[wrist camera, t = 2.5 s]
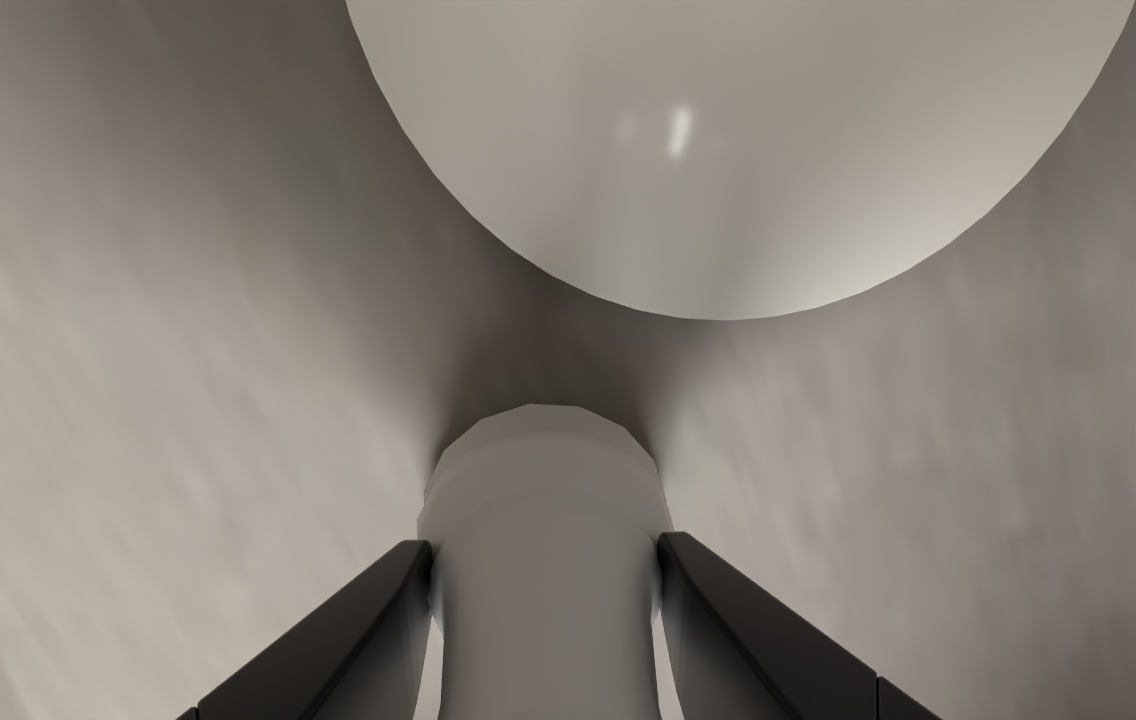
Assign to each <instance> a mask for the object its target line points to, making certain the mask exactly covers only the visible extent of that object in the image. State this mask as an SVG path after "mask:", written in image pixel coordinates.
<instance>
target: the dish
mask: <svg viewBox="0 0 1136 720" xmlns="http://www.w3.org/2000/svg"><path fill="white" fill-rule="evenodd" d="M1134 3H1135V0H346V4H347V7H348V11H349V15H350V18H351V21H352V23H353V26H354V28H355V31H356V33H357V36H358V38H359V41H360V43H361V46H362V48H363V51H364V53H365V56H366V58H367V61H368V63H369V65H370V68H371V70H372V73H373V75H374V78H375V80H376V81H377V83H378V85H379V87H380V89H381V91H382V92H383V94H384V96H385V98H386V100H387V102H388V103H389V105H390V107H391V109H392V111H393V113H394V114H395V116H396V118H397V120H398V122H399V124H400V125H401V127H402V129H403V131H404V132H405V133H406V135H407V136H408V138H409V139H410V140H411V142H412V143H413V145H414V146H415V148H416V149H417V150H418V152H419V153H420V155H421V156H422V157H423V159H424V160H425V162H426V163H427V165H428V166H429V167H430V169H431V170H432V172H433V173H434V174H435V176H436V177H437V178H438V179H439V180H440V181H441V182H442V183H443V185H444V186H445V187H446V188H447V189H448V190H449V191H450V192H451V193H452V194H453V196H454V197H455V198H456V199H457V200H458V201H459V202H460V203H461V204H462V205H463V207H464V208H465V209H466V210H467V211H468V212H469V213H470V214H471V215H472V216H473V217H474V218H475V219H476V220H478V221H479V222H480V223H481V224H482V225H483V226H485V227H486V228H487V229H488V230H489V231H490V232H492V233H493V234H494V235H495V236H496V237H497V238H499V239H500V240H501V241H502V242H503V243H504V244H506V245H507V246H508V247H509V248H510V249H512V250H513V251H515V252H516V253H518V254H519V255H521V256H523V257H524V258H526V259H527V260H529V261H530V262H532V263H533V264H535V265H536V266H538V267H539V268H541V269H542V270H544V271H545V272H547V273H548V274H550V275H552V276H554V277H556V278H558V279H560V280H562V281H564V282H566V283H568V284H570V285H572V286H574V287H577V288H579V289H581V290H583V291H585V292H587V293H589V294H591V295H593V296H596V297H599V298H602V299H605V300H608V301H611V302H614V303H617V304H620V305H623V306H627V307H630V308H633V309H636V310H640V311H645V312H651V313H656V314H661V315H667V316H672V317H678V318H686V319H705V320H725V321H728V320H741V319H754V318H766V317H775V316H780V315H784V314H789V313H794V312H799V311H803V310H808V309H813V308H818V307H820V306H823V305H826V304H829V303H832V302H835V301H838V300H841V299H844V298H847V297H850V296H853V295H856V294H858V293H861V292H863V291H866V290H868V289H870V288H872V287H874V286H876V285H878V284H880V283H882V282H884V281H886V280H888V279H891V278H893V277H895V276H897V275H899V274H901V273H903V272H905V271H907V270H908V269H910V268H911V267H913V266H915V265H916V264H918V263H919V262H921V261H923V260H924V259H926V258H927V257H929V256H930V255H932V254H934V253H935V252H937V251H938V250H940V249H942V248H943V247H945V246H946V245H948V244H949V243H950V242H952V241H953V240H954V239H955V238H957V237H958V236H959V235H960V234H962V233H963V232H964V231H965V230H967V229H968V228H969V227H970V226H972V225H973V224H974V223H975V222H977V221H978V220H979V219H980V218H982V217H983V216H984V215H985V214H987V213H988V212H989V211H990V210H991V209H992V208H993V207H994V206H995V205H996V204H997V203H998V202H999V201H1000V200H1001V199H1002V198H1003V197H1004V196H1005V195H1006V194H1007V193H1008V192H1009V191H1010V190H1011V189H1012V188H1013V187H1014V186H1015V185H1016V184H1017V183H1018V182H1019V181H1020V180H1021V179H1022V178H1023V177H1024V176H1025V175H1026V174H1027V173H1028V172H1029V171H1030V169H1031V168H1032V167H1033V166H1034V165H1035V163H1036V162H1037V161H1038V160H1039V159H1040V157H1041V156H1042V155H1043V154H1044V153H1045V151H1046V150H1047V149H1048V148H1049V147H1050V145H1051V144H1052V143H1053V142H1054V140H1055V139H1056V138H1057V137H1058V136H1059V134H1060V133H1061V132H1062V131H1063V129H1064V128H1065V126H1066V125H1067V123H1068V122H1069V120H1070V119H1071V117H1072V116H1073V114H1074V113H1075V111H1076V110H1077V108H1078V107H1079V105H1080V104H1081V102H1082V101H1083V99H1084V98H1085V96H1086V95H1087V93H1088V92H1089V90H1090V89H1091V87H1092V86H1093V84H1094V83H1095V81H1096V79H1097V77H1098V75H1099V74H1100V72H1101V70H1102V68H1103V66H1104V64H1105V62H1106V61H1107V59H1108V57H1109V55H1110V53H1111V51H1112V49H1113V48H1114V46H1115V44H1116V42H1117V40H1118V38H1119V36H1120V35H1121V33H1122V31H1123V29H1124V26H1125V24H1126V22H1127V19H1128V17H1129V14H1130V12H1131V10H1132V7H1133V5H1134Z"/></svg>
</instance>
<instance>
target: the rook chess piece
mask: <svg viewBox="0 0 1136 720" xmlns="http://www.w3.org/2000/svg"><path fill="white" fill-rule="evenodd" d="M662 532H674V527H673V523H672V520H671V517H670V513H669V510H668V507H667V504H666V498H665V495H664V491H663V488H662V485H661V482H660V478H659V475H658V472H657V468H656V465H655V462H654V460H653V459H652V458H651V457H650V455H649V454H648V453H647V452H646V451H645V450H644V449H643V448H642V447H641V445H640V444H639V443H638V442H637V441H636V440H635V439H634V438H633V437H632V435H631V434H630V433H629V432H628V431H627V430H626V429H625V428H624V427H623V426H621V425H619V424H616V423H614V422H612V421H610V420H608V419H606V418H603V417H601V416H599V415H597V414H595V413H593V412H590V411H588V410H586V409H584V408H582V407H579V406H562V405H544V404H527V405H523V406H520V407H517V408H514V409H511V410H508V411H505V412H502V413H499V414H496V415H493V416H489V417H486V418H483V419H481V420H479V421H478V422H477V423H476V424H475V425H474V426H472V427H471V428H470V429H469V430H468V431H466V432H465V433H464V434H463V435H462V436H460V437H459V438H458V439H457V440H456V441H454V442H453V443H452V444H451V445H450V446H449V447H447V448H446V449H445V450H444V451H443V454H442V456H441V458H440V460H439V462H438V464H437V466H436V468H435V470H434V472H433V474H432V476H431V478H430V480H429V482H428V484H427V486H426V488H425V490H424V507H423V509H422V511H421V513H420V515H419V517H418V519H417V540H428V541H429V542H430V544H431V547H432V558H433V566H432V568H431V570H430V610H431V612H432V614H433V616H434V618H435V620H436V622H437V624H438V627H439V629H440V631H441V633H442V635H443V639H444V649H443V669H442V688H441V705H440V710H439V715H438V720H662V718H661V714H660V710H659V703H658V692H657V681H656V670H655V659H654V648H653V637H652V626H651V625H652V624H653V622H654V621H655V619H656V618H657V616H658V612H659V606H660V599H661V592H662V579H663V577H662V570H661V567H660V564H659V561H658V558H657V545H658V537H659V535H660V534H661V533H662Z"/></svg>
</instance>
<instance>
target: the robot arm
mask: <svg viewBox="0 0 1136 720" xmlns="http://www.w3.org/2000/svg"><path fill="white" fill-rule="evenodd" d="M657 558H658V561H659V564H660V567H661V570H662V577H663V579H662V592H661V599H660V611H661V616H662V621H663V626H664V632H665V637H666V642H667V647H668V652H669V657H670V662H671V668H672V673H673V677H674V682H675V687H676V691H677V695H678V699H679V702H680V706H681V709H682V713H683V716H684V719H685V720H942V719H941V718H939V717H938V716H937V715H935V714H934V713H932V712H931V711H930V710H928V709H927V708H925V707H924V706H923V705H921V704H920V703H918V702H917V701H915V700H914V699H913V698H911V697H910V696H909V695H907V694H906V693H904V692H903V691H902V690H900V689H899V688H898V687H896V686H895V685H894V684H892V683H891V682H890V681H888V680H887V679H885V678H884V677H882V676H879V677H878V678H877V673H876V672H875V671H874V670H873V669H872V668H870V667H869V666H867V665H866V664H865V663H863V662H862V661H861V660H859V659H858V658H857V657H855V656H854V655H853V654H851V653H850V652H848V651H847V650H846V649H844V648H843V647H842V646H840V645H839V644H838V643H836V642H835V641H834V640H832V639H831V638H829V637H828V636H827V635H825V634H824V633H823V632H821V631H820V630H819V629H817V628H816V627H815V626H813V625H812V624H810V623H809V622H808V621H806V620H805V619H804V618H802V617H801V616H800V615H798V614H797V613H796V612H794V611H793V610H791V609H790V608H789V607H787V606H786V605H785V604H783V603H782V602H781V601H779V600H778V599H777V598H775V597H774V596H772V595H771V594H770V593H768V592H767V591H766V590H764V589H763V588H762V587H760V586H759V585H758V584H756V583H755V582H753V581H752V580H751V579H749V578H748V577H747V576H745V575H744V574H743V573H741V572H740V571H739V570H737V569H736V568H734V567H733V566H732V565H730V564H729V563H728V562H726V561H725V560H724V559H722V558H721V557H720V556H718V555H717V554H715V553H714V552H713V551H711V550H710V549H709V548H707V547H706V546H705V545H703V544H702V543H701V542H699V541H698V540H696V539H695V538H694V537H692V536H691V535H690V534H688V533H686V532H683V531H680V532H662V533H661V534H660V535H659V537H658V545H657ZM432 566H433V558H432V547H431V544H430V542H429V541H428V540H403V541H401V542H400V543H398V544H397V545H396V546H394V547H393V548H392V549H391V550H389V551H388V552H387V553H386V554H384V555H383V556H382V557H381V558H379V559H378V560H377V561H375V562H374V563H373V564H372V565H370V566H369V567H368V568H367V569H365V570H364V571H363V572H362V573H360V574H359V575H358V576H357V577H355V578H354V579H353V580H351V581H350V582H349V583H348V584H346V585H345V586H344V587H343V588H341V589H340V590H339V591H338V592H336V593H335V594H334V595H333V596H331V597H330V598H329V599H327V600H326V601H325V602H324V603H322V604H321V605H320V606H319V607H317V608H316V609H315V610H314V611H312V612H311V613H310V614H309V615H307V616H306V617H305V618H304V619H302V620H301V621H300V622H298V623H297V624H296V625H295V626H293V627H292V628H291V629H290V630H288V631H287V632H286V633H285V634H283V635H282V636H281V637H280V638H278V639H277V640H276V641H274V642H273V643H272V644H271V645H269V646H268V647H267V648H266V649H264V650H263V651H262V652H261V653H259V654H258V655H257V656H256V657H254V658H253V659H252V660H250V661H249V662H248V663H247V664H245V665H244V666H243V667H242V668H240V669H239V670H238V671H237V672H235V673H234V674H233V675H232V676H230V677H229V678H228V679H226V680H225V681H224V682H223V683H221V684H220V685H219V686H218V687H216V688H215V689H214V690H213V691H211V692H210V693H209V694H208V695H206V696H205V697H204V698H202V699H201V700H200V701H199V702H198V705H197V708H196V707H191V708H190V709H188V710H187V711H186V712H184V713H183V714H182V715H181V716H179V717H178V718H177V719H176V720H413V716H414V712H415V708H416V704H417V699H418V693H419V688H420V683H421V677H422V671H423V665H424V659H425V653H426V647H427V641H428V635H429V629H430V623H431V617H432V612H431V610H430V570H431V568H432Z"/></svg>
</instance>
